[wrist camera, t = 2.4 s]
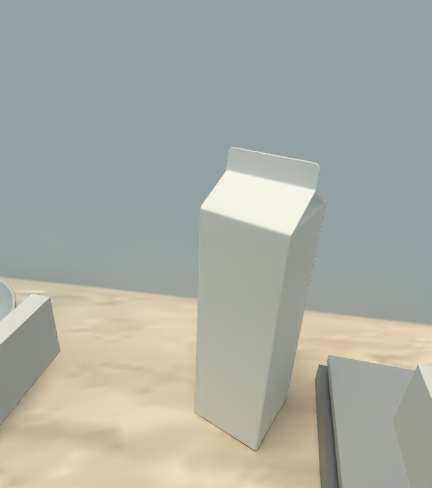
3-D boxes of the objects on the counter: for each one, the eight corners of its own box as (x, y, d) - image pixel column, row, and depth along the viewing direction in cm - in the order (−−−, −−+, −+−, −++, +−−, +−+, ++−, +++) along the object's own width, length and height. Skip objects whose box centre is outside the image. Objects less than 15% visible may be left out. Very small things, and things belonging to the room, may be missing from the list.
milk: (230, 369, 35) (251, 138, 24) (287, 399, 32) (338, 153, 22) (192, 414, 30) (199, 154, 20) (256, 454, 27) (301, 175, 17)
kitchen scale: (487, 412, 32) (505, 382, 30) (592, 608, 20) (632, 579, 18) (315, 379, 34) (322, 350, 32) (323, 539, 23) (336, 507, 21)
